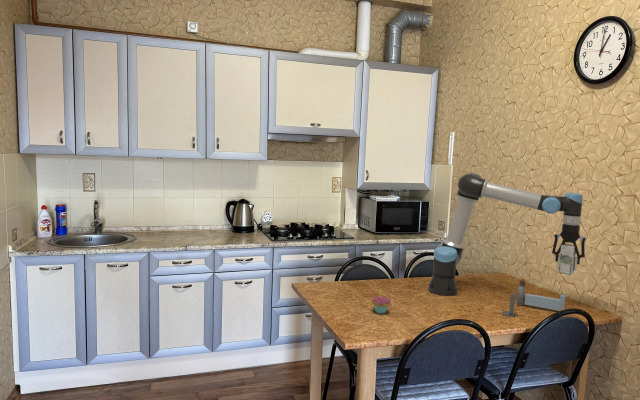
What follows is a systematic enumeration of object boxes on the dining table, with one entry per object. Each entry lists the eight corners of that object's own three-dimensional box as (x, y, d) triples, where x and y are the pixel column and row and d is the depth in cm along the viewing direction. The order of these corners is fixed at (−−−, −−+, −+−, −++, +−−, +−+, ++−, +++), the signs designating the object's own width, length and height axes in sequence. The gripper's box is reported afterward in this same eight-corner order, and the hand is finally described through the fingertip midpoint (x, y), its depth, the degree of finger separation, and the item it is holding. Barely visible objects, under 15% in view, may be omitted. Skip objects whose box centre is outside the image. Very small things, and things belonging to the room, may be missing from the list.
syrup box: (574, 273, 215) (577, 245, 214) (570, 275, 211) (573, 246, 210) (561, 271, 219) (564, 243, 218) (558, 272, 215) (560, 244, 214)
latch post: (502, 314, 199) (504, 293, 198) (503, 311, 203) (504, 291, 202) (513, 317, 196) (515, 296, 195) (514, 313, 201) (516, 293, 200)
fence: (517, 303, 217) (519, 285, 216) (518, 296, 228) (520, 279, 227) (523, 304, 216) (524, 286, 215) (524, 297, 227) (525, 280, 226)
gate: (516, 304, 213) (518, 287, 213) (516, 302, 216) (518, 285, 215) (563, 313, 204) (565, 294, 203) (563, 311, 207) (565, 293, 206)
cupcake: (385, 316, 189) (387, 290, 188) (367, 312, 194) (369, 286, 193) (392, 311, 197) (394, 285, 195) (375, 306, 201) (377, 282, 200)
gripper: (548, 222, 214) (544, 267, 216) (595, 227, 205) (590, 274, 207) (548, 221, 221) (544, 264, 223) (593, 225, 212) (588, 270, 214)
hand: (566, 269), depth 215 cm, fingers closed on syrup box, 7 cm apart
